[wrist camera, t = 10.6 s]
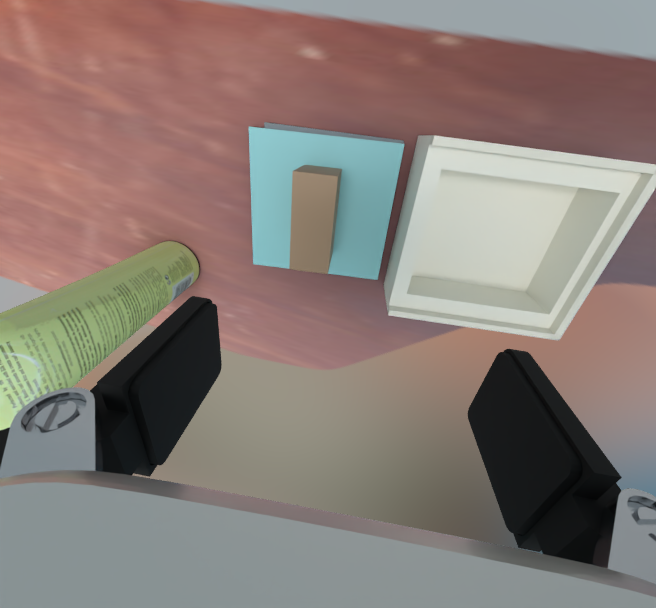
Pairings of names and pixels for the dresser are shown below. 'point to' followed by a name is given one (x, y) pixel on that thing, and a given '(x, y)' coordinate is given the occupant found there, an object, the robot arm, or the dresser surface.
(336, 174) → the lid
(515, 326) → the box
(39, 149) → the dresser surface
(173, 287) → the tube
